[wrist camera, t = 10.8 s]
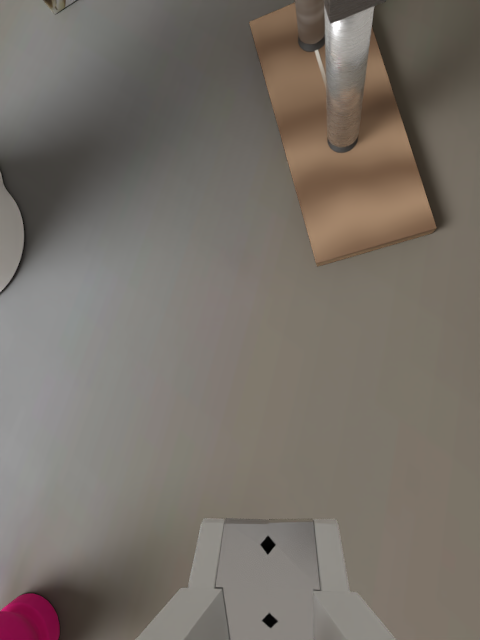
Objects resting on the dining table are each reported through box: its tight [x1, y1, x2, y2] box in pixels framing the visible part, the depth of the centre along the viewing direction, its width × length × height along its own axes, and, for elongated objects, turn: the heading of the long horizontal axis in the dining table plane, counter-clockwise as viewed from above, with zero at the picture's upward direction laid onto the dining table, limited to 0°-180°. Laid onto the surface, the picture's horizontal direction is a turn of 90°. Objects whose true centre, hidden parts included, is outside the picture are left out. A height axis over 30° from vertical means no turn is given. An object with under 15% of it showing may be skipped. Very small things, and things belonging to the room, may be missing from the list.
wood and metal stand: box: [249, 0, 437, 267], centre depth 27 cm, size 24×10×20 cm, turn 15°
